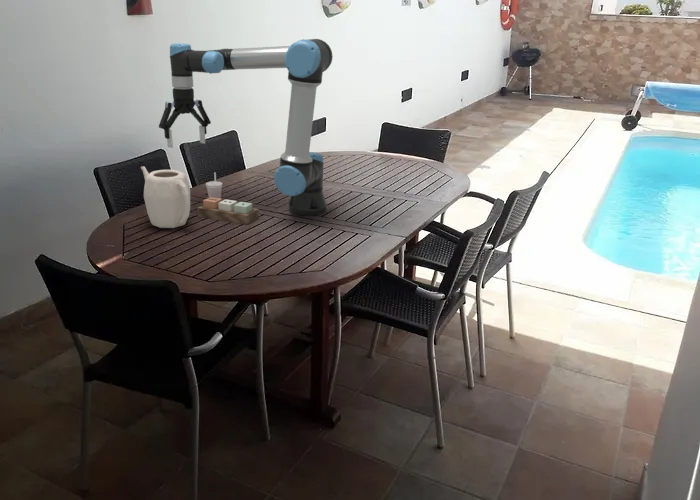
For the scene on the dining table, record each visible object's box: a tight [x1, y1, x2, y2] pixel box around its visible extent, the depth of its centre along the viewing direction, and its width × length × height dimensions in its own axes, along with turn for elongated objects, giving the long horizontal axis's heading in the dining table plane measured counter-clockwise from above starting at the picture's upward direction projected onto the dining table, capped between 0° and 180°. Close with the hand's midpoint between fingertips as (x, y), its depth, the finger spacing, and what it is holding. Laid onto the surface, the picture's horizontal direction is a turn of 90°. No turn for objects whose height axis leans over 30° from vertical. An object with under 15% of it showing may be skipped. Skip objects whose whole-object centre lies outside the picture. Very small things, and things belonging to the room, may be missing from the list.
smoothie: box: [205, 172, 224, 199], centre depth 237 cm, size 6×6×14 cm
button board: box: [196, 204, 260, 226], centre depth 228 cm, size 21×9×4 cm, turn 70°
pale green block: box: [234, 201, 254, 214], centre depth 225 cm, size 5×5×4 cm
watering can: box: [140, 166, 191, 229], centre depth 216 cm, size 16×27×19 cm, turn 52°
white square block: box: [218, 198, 238, 212], centre depth 227 cm, size 5×5×4 cm
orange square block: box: [202, 197, 223, 209], centre depth 229 cm, size 5×5×4 cm
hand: (186, 145), depth 231 cm, fingers open, 13 cm apart
